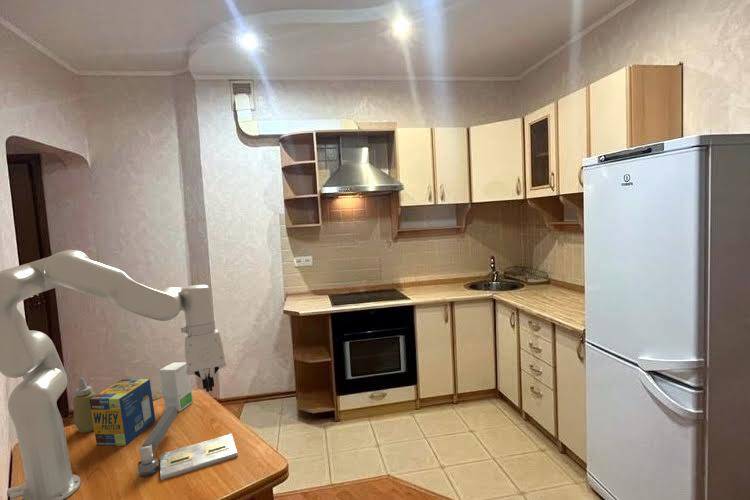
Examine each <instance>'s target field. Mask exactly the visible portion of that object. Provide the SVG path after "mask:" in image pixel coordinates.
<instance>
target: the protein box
mask: <svg viewBox="0 0 750 500" xmlns="http://www.w3.org/2000/svg"><path fill="white" fill-rule="evenodd" d="M89 401H90V407H91V413H92V419H93V425H94V430H93V431H94V436H95V441H96V442H95V443H96V446H117V447H118V446H119V447H121V446H123V447H124V446H127V445H128V444H130V443H131V442H133V440H135V439H136V438H137V437H138V436H140V435H141V434H142V433H143V432H144V431H146V430H147V429H148V428H149V427H151V426H152V425H153V424H155V423H156V415H155V407H154V402H153V401H154V400H153V394H152V386H151V378H150V379H149V378H148V379H147V378H146V379H145V378H143V379H142V378H140V379H139V378H138V379H136V378H135V379H134V378H133V379H131V378H129V379H128V378H122V379H120V380H119V381H118V382H116V383H114V384H113V385H111V386H109V387H108V388H106V389H104V390H102V391H101V392H99V393H96V396H94V397H92V398H91V399H89Z"/></svg>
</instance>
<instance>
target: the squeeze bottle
mask: <svg viewBox="0 0 750 500" xmlns="http://www.w3.org/2000/svg"><path fill="white" fill-rule="evenodd" d="M74 392H75V396H74V397H73V401H72V404H73V422H74V425H75V427H76V428H77V430H78V432H79V433H82V434H87V433H91V432H93V431H94V425H93V419H92V413H91V407H90V401H89V399H91V398H92V397H94V396H96V395H97V393H96V392H95V391H93V388H92V386H90V385H88V384H87V382H86V380H85V377H80V378H79V380H78V388H76V390H75V391H74Z"/></svg>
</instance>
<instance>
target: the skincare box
mask: <svg viewBox="0 0 750 500" xmlns="http://www.w3.org/2000/svg"><path fill="white" fill-rule="evenodd" d="M186 370H187V366H186V361H181V362H180V361H178V362H171V363H170V364H168V365H166V366H164V367H162V368H161V369H159V370H158V371H159V375H160V382H161V383H160V384H161V389H162V395H163V397H162V398H163V403H164V412H165V411H166V410H167V409H168V407H175V406H176V410H177V413H178V412H182V411H183V410H185V409H186V408H187V407H188V406H190V405H191V404H192V403H193V402H194V399H193V390H192V385H191V384H192V383H191V379H190V378H191V377H190V376H191V375H187V374H186Z"/></svg>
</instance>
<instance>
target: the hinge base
mask: <svg viewBox="0 0 750 500" xmlns="http://www.w3.org/2000/svg"><path fill="white" fill-rule="evenodd" d="M153 459H154V460H153V461H152V462H151V463H149V464H145V465H143V464H142V463H141V460H140V461H139V462H138V463H137V471H138V476H139V477H140V478H142V479H143V478H144V479H146V478H149V477H152V476H154V475H156V474H157V473H158V472H159V470H160V465H159V458H158V457H157V456H153Z"/></svg>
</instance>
